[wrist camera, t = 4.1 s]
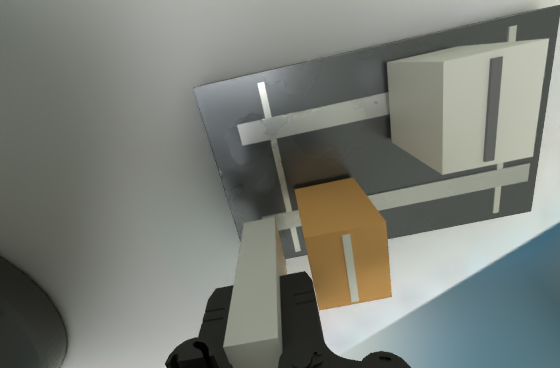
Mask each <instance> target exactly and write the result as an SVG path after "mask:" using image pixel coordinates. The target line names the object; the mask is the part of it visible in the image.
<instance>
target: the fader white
mask: <svg viewBox="0 0 560 368" xmlns="http://www.w3.org/2000/svg"><path fill="white" fill-rule="evenodd" d="M548 43H549V38H548V39H536V40H525V41H514V42H503V43H491V44H480V45H469V46H457V47H453V48H448V49H444V50H439V51H435V52H430V53H426V54H421V55H417V56H412V57H408V58H403V59H399V60H394V61H390V62H387V75H388V91H389V108H390V125H391V141H392V143H394V144H395V145H397V146H398V147H400V148H401V149H403V150H404V151H406V152H408V153H409V154H411V155H412V156H414V157H415V158H417V159H418V160H420V161H422V162H423V163H425V164H426V165H428V166H429V167H431V168H432V169H434V170H436V171H437V172H439V173H440V174H442V175H444V174H449V173H454V172H459V171H464V170H469V169H474V168H479V167H484V166H489V165H494V164H499V163H503V162H508V161H513V160H518V159H523V158H528V157H533V152H534V144H535V137H536V130H537V123H538V116H539V108H540V101H541V94H542V87H543V79H544V72H545V65H546V58H547V50H548Z"/></svg>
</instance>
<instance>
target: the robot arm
mask: <svg viewBox="0 0 560 368" xmlns="http://www.w3.org/2000/svg"><path fill="white" fill-rule="evenodd" d="M66 345H67V341H66V333H65V329H64V325H63V323H62V320H61V318H60V316H59V314H58V312H57V310H56V309H55V307H54V305H53V304H52V302H51V301H50V300H49V298H48V297H47V296H46V295H45V294H44V292H43V291H42V290H41V289H40V288H39V287H38V286H37V285H36V284H35V283H34V282H33V281H32V280H30V279H29V278H28V277H27V276H26V275H24V274H23V273H22V272H21V271H19V270H18V269H17V268H15V267H14V266H12V265H11V264H9V263H8V262H6V261H5V260H3V259H1V258H0V368H60V366H61V364H62V362H63V360H64V357H65V353H66ZM165 365H166V367H167V368H411V367H410V366H409V365H408V364H407V363H406V362H405V361H404V360H403V359H402V358H401V357H399V356H397V355H395V354H393V353H389V352H383V351H379V352H374V353H370V354H369V355H368V356H366V357H365V358H363V360H362V361H356V360H350V359H346V358H342V357H340V356H338V355H336V354H334V353H333V352H332V351H331V350H330V349H329V348H328V347H327V345H326V344H325V342H324V338H323V332H322V327H321V322H320V317H319V312H318V306H317V302H316V297H315V292H314V287H313V282H312V279H311V278H310V277H309V276H308V274H307V273H306V272H305V271H304V272H299V273H293V274H288V275H287V270H286V261H285V257H284V253H283V249H282V244H281V240H280V236H279V232H278V228H277V224H276V220H275V217H272V218H267V219H262V220H257V221H252V222H247V223H244V227H243V233H242V239H241V244H240V250H239V256H238V262H237V268H236V274H235V280H234V285H233V286H227V287H222V288H217V289H215V291H214V292H213V294H212V295H211V296H210V298H209V299H208V302H207V306H206V310H205V314H204V317H203V323H202V325H201V329H200V332H199V336H198V338H197V337H195V338H192V339H189V340H186V341H185V342H183V343H182V344H180V345H179V346H177V347H176V348H175V349H174V350H173V352H172V353H171V354H170V355H169V357H168V359H167V361H166V363H165Z"/></svg>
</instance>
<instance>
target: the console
mask: <svg viewBox="0 0 560 368" xmlns="http://www.w3.org/2000/svg"><path fill="white" fill-rule="evenodd" d="M559 18H560V5H557V6H552V7H547V8H542V9H537V10H532V11H528V12H523V13H519V14H514V15H510V16H506V17H501V18H497V19H492V20H488V21H483V22H479V23H475V24H470V25H466V26H461V27H457V28H453V29H448V30H444V31H439V32H435V33H430V34H426V35H422V36H417V37H413V38H408V39H404V40H399V41H395V42H391V43H386V44H382V45H377V46H373V47H368V48H364V49H360V50H355V51H351V52H346V53H342V54H338V55H333V56H329V57H324V58H320V59H315V60H311V61H307V62H302V63H298V64H293V65H289V66H284V67H280V68H276V69H271V70H267V71H262V72H258V73H254V74H249V75H245V76H240V77H236V78H231V79H227V80H223V81H218V82H214V83H209V84H205V85H200V86H197V87H194V88H193V90H194V93H195V97H196V100H197V103H198V106H199V109H200V113H201V116H202V119H203V122H204V126H205V129H206V132H207V135H208V138H209V142H210V145H211V148H212V151H213V154H214V158H215V161H216V164H217V167H218V170H219V174H220V177H221V180H222V183H223V187H224V190H225V193H226V196H227V199H228V203H229V206H230V209H231V212H232V215H233V219H234V222H235V225H236V228H237V232H238V235H239V238H240V241H241V239H242V233H243V227H244V223H247V222H252V221H257V220H262V219H267V218H272V217H275V220H276V224H277V228H278V232H279V236H280V240H281V244H282V249H283V253H284V257H285V259H288V258H293V257H298V256H303V255H308V254H307V249H306V244H305V239H304V235H303V230H302V225H301V220H300V215H299V210H298V205H297V200H296V195H295V190H294V189H299V188H304V187H309V186H314V185H318V184H323V183H328V182H333V181H338V180H343V179H348V178H352V177H353V178H354V179H355V180H356V182H357V183H358V184H359V186H360V187H361V188H362V190H363V191H364V193H365V194H366V195H367V197H368V198H369V199H370V201H371V202H372V203H373V205H374V206H375V207H376V209H377V210H378V211H379V213H380V214H381V216H382V217H383V218H384V220H385V221H386V227H387V239H391V238H396V237H401V236H406V235H412V234H417V233H422V232H427V231H432V230H437V229H442V228H448V227H453V226H458V225H463V224H468V223H473V222H478V221H484V220H489V219H494V218H499V217H504V216H509V215H515V214H520V213H525V212H530V211H531V208H532V202H533V195H534V188H535V181H536V174H537V168H538V161H539V154H540V147H541V140H542V133H543V127H544V120H545V113H546V106H547V99H548V93H549V86H550V79H551V72H552V65H553V59H554V52H555V45H556V38H557V31H558V25H559ZM548 38H549V43H548V50H547V58H546V65H545V72H544V79H543V87H542V94H541V101H540V108H539V116H538V123H537V130H536V137H535V144H534V152H533V157H528V158H523V159H518V160H513V161H508V162H503V163H499V164H494V165H489V166H484V167H479V168H474V169H469V170H464V171H459V172H454V173H449V174H444V175H442V174H440V173H439V172H437V171H436V170H434V169H432V168H431V167H429V166H428V165H426V164H425V163H423V162H422V161H420V160H418V159H417V158H415V157H414V156H412V155H411V154H409V153H408V152H406V151H404V150H403V149H401V148H400V147H398V146H397V145H395V144H394V143H392V141H391V125H390V108H389V91H388V75H387V62H390V61H394V60H399V59H403V58H408V57H412V56H417V55H421V54H426V53H430V52H435V51H439V50H444V49H448V48H453V47H457V46H469V45H480V44H491V43H503V42H514V41H525V40H536V39H548Z"/></svg>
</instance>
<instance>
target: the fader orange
mask: <svg viewBox="0 0 560 368" xmlns="http://www.w3.org/2000/svg"><path fill="white" fill-rule="evenodd" d="M294 190H295V195H296V200H297V205H298V210H299V215H300V220H301V225H302V230H303V235H304V239H305V244H306V249H307V254H308V259H309V263H310V268H311V273H312V278H313V283H314V287H315V292H316V297H317V302H318V307H319V310H324V309H329V308H335V307H340V306H346V305H351V304H357V303H362V302H367V301H373V300H378V299H384V298H389V297H392V293H391V280H390V267H389V253H388V240H387V227H386V221H385V220H384V218H383V217H382V216H381V214H380V213H379V211H378V210H377V209H376V207H375V206H374V205H373V203H372V202H371V201H370V199H369V198H368V197H367V195H366V194H365V193H364V191H363V190H362V188H361V187H360V186H359V184H358V183H357V182H356V180H355V179H354V178H353V177H352V178H348V179H343V180H338V181H333V182H328V183H323V184H318V185H314V186H309V187H304V188H299V189H294Z"/></svg>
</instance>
